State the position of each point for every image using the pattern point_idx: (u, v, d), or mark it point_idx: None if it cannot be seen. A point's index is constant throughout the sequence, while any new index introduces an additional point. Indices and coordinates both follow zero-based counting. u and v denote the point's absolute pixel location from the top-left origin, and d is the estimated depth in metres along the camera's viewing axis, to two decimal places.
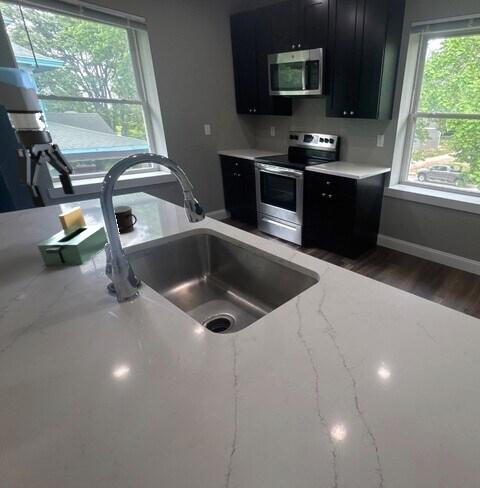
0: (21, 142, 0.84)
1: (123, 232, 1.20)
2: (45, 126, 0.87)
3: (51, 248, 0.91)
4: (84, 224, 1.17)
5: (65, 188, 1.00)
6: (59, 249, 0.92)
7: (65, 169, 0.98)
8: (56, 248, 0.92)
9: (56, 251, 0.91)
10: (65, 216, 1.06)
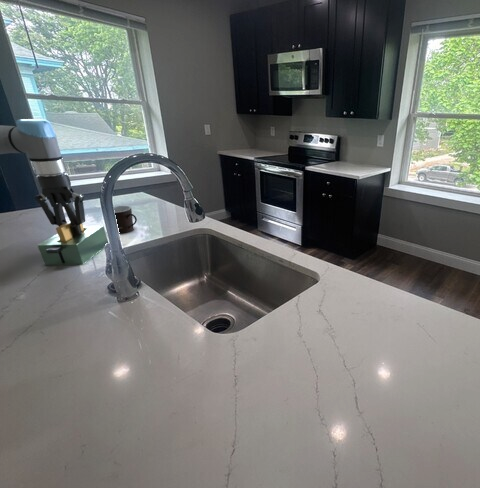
0: (65, 185, 0.92)
1: (123, 232, 1.20)
2: None
3: (51, 248, 0.91)
4: None
5: None
6: (59, 249, 0.92)
7: None
8: (56, 248, 0.92)
9: (56, 251, 0.91)
10: (63, 229, 0.95)
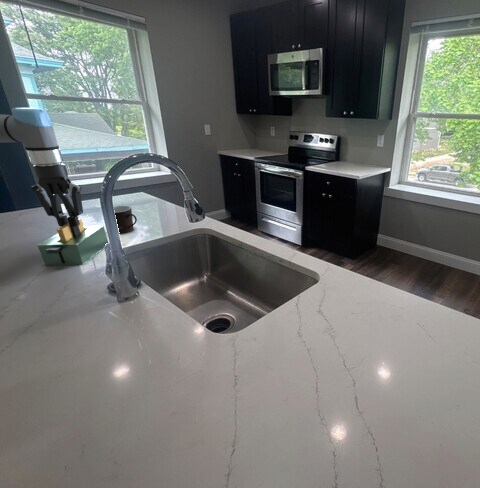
0: (61, 175, 0.91)
1: (123, 232, 1.20)
2: None
3: (51, 248, 0.91)
4: None
5: None
6: (59, 249, 0.92)
7: None
8: (56, 248, 0.92)
9: (56, 251, 0.91)
10: (64, 230, 0.95)
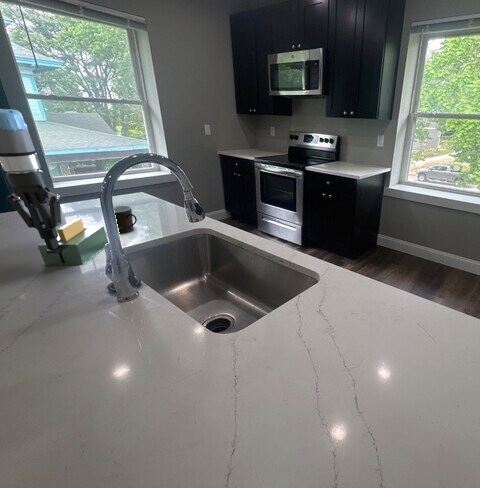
0: (39, 183, 0.82)
1: (123, 232, 1.20)
2: None
3: None
4: None
5: None
6: (59, 249, 0.92)
7: None
8: (56, 248, 0.92)
9: (56, 251, 0.91)
10: (64, 230, 0.95)
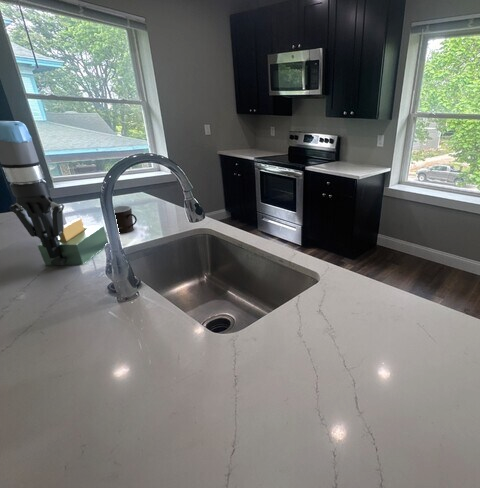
0: (42, 194, 0.83)
1: (123, 232, 1.20)
2: None
3: (55, 260, 0.93)
4: None
5: None
6: (63, 260, 0.94)
7: None
8: (60, 259, 0.93)
9: (60, 262, 0.93)
10: (64, 230, 0.95)
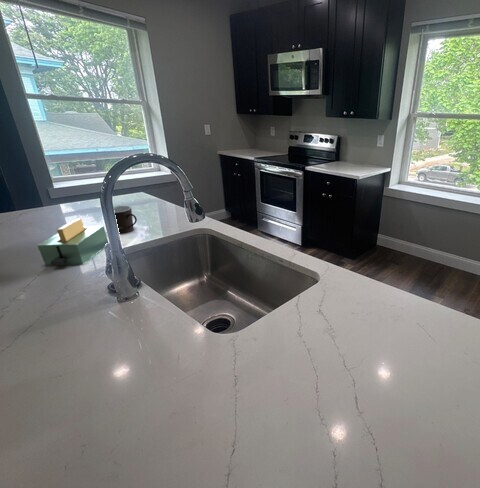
0: None
1: (123, 232, 1.20)
2: None
3: (55, 260, 0.93)
4: None
5: None
6: (63, 260, 0.94)
7: None
8: (60, 259, 0.93)
9: (60, 262, 0.93)
10: (64, 230, 0.95)
